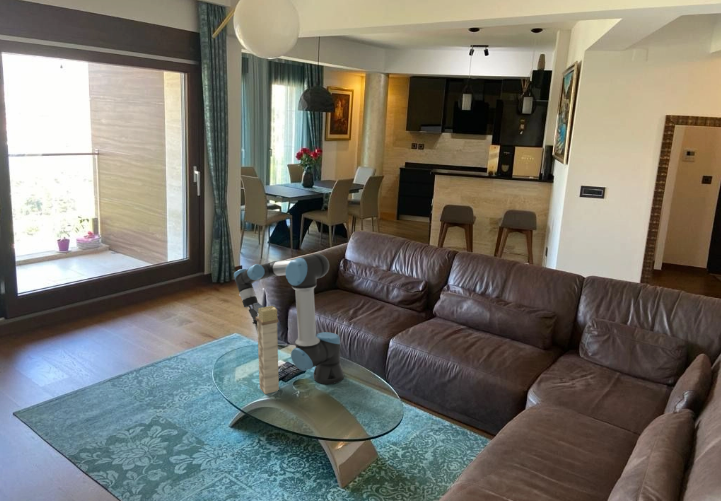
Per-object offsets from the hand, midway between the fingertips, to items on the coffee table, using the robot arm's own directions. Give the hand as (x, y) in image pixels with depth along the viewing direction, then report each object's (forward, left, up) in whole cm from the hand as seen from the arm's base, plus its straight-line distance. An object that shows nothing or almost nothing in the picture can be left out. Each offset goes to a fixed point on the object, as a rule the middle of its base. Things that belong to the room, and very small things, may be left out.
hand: (261, 337), depth 280 cm
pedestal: (-17, +16, -17) cm, 29 cm away
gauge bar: (-13, +14, +19) cm, 27 cm away
